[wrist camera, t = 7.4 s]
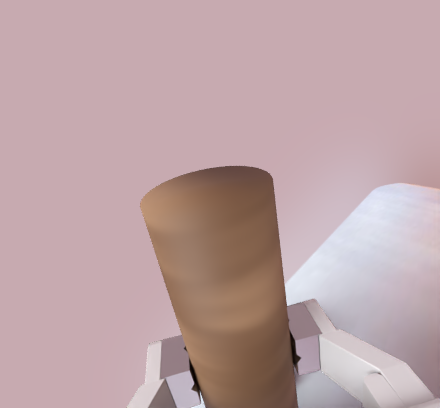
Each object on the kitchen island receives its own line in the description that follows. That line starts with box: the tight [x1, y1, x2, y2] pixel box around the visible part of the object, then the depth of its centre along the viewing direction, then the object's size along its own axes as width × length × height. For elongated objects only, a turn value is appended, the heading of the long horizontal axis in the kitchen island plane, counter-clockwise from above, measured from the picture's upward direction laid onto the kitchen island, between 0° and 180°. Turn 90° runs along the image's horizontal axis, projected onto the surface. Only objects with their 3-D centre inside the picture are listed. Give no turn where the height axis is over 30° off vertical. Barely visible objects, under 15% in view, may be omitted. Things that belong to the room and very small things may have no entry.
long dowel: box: [140, 166, 298, 408], centre depth 11 cm, size 4×4×16 cm
